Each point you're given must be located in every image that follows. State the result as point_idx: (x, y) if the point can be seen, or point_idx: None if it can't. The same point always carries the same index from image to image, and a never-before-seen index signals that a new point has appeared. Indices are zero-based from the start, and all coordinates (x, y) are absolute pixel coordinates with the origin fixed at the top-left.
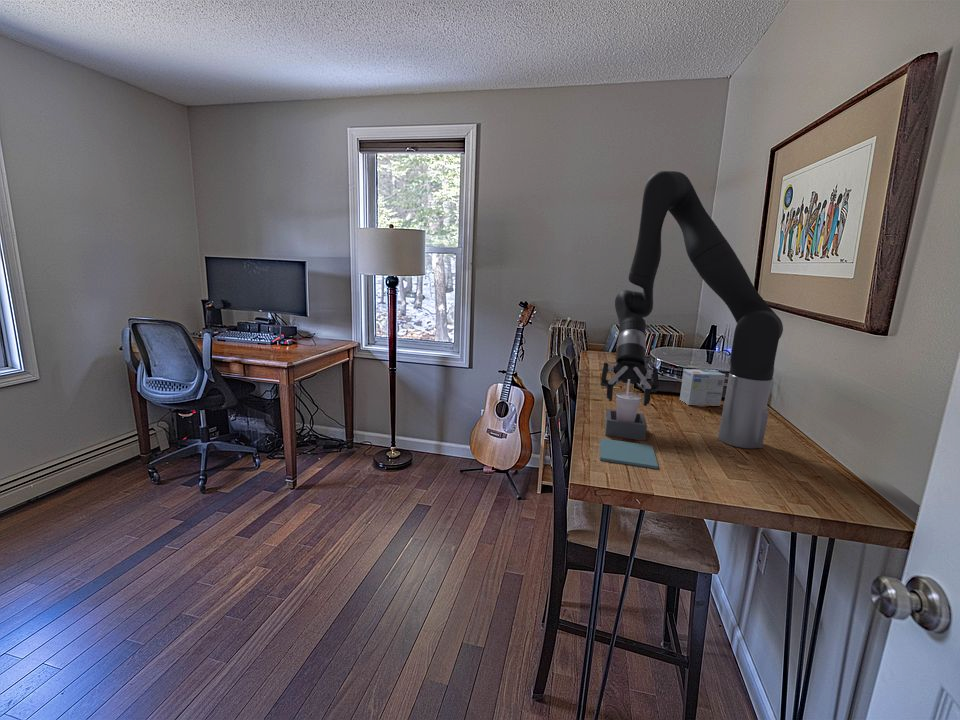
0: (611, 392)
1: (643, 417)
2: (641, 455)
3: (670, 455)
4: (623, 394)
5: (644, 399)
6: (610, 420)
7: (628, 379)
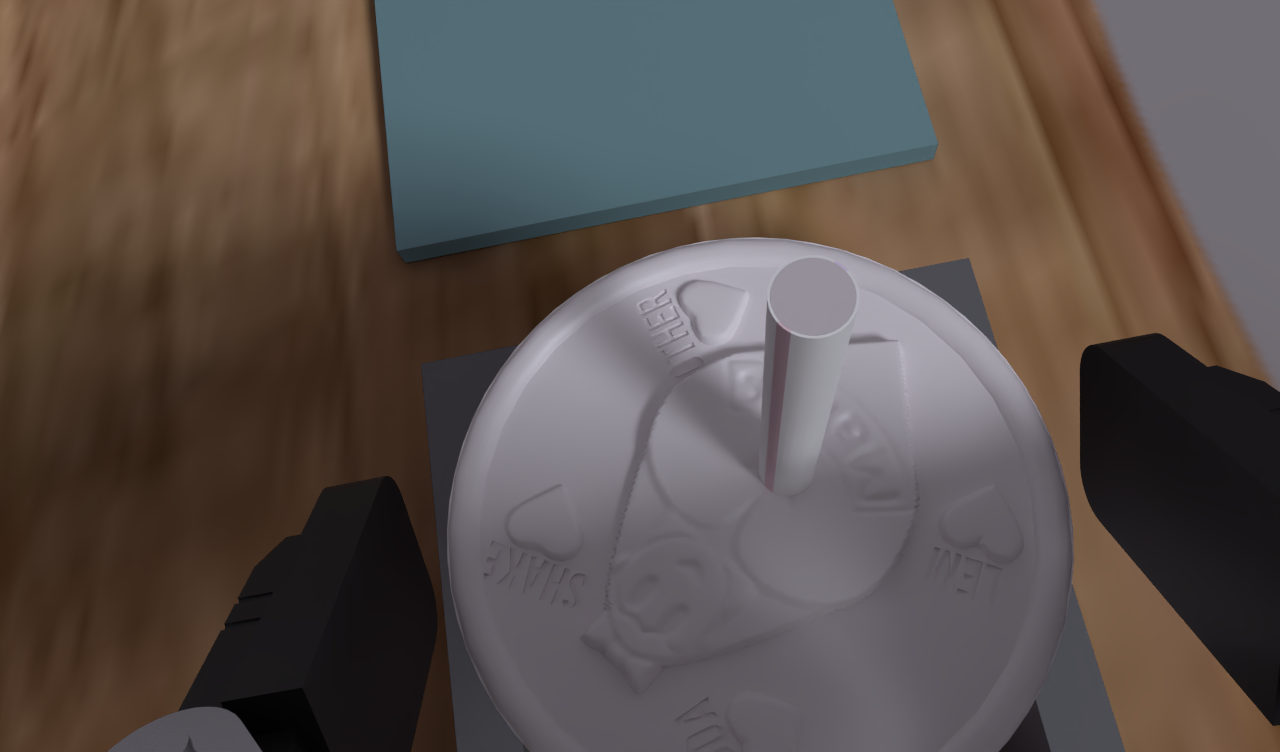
0: (1182, 385)
1: (476, 729)
2: None
3: (242, 182)
4: (879, 484)
5: (386, 552)
6: (922, 269)
7: (834, 270)
